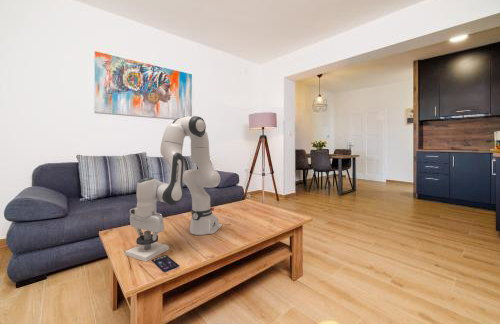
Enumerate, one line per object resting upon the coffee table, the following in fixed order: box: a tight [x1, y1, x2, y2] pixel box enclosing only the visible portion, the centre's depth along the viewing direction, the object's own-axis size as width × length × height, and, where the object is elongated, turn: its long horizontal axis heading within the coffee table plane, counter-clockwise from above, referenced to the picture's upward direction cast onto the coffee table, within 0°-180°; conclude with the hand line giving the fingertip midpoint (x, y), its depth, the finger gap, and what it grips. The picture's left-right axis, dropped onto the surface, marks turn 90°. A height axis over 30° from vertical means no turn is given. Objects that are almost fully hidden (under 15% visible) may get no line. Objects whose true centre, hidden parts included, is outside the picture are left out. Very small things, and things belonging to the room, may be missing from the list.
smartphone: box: [150, 254, 181, 274], centre depth 100 cm, size 8×1×15 cm
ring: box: [135, 233, 159, 245], centre depth 110 cm, size 10×10×1 cm
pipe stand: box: [124, 230, 170, 263], centre depth 110 cm, size 14×14×10 cm
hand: (147, 238), depth 110 cm, fingers open, 8 cm apart
